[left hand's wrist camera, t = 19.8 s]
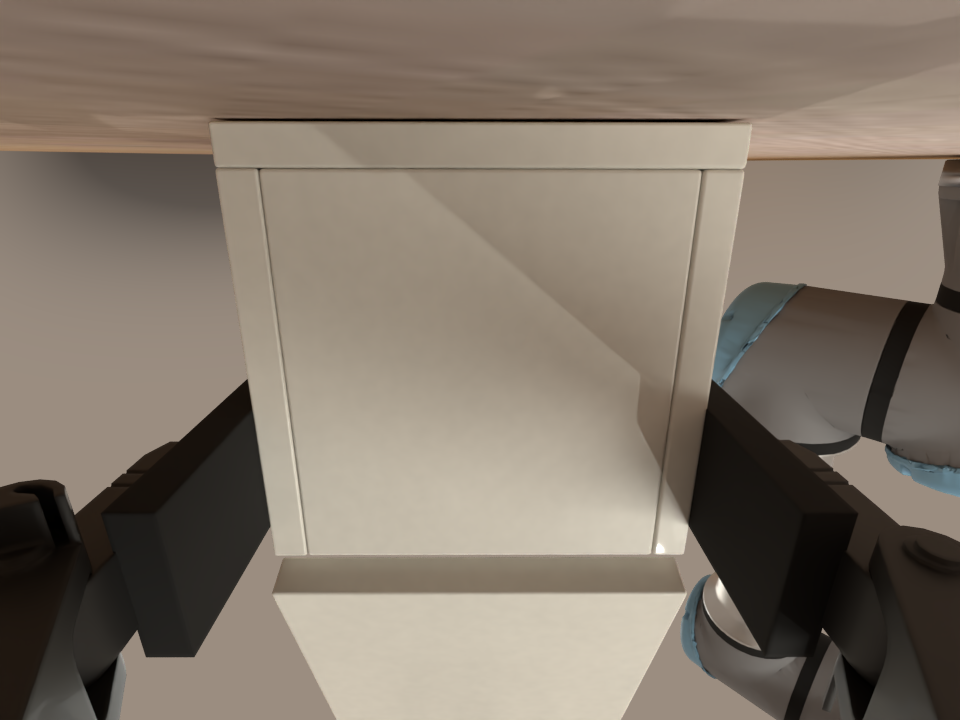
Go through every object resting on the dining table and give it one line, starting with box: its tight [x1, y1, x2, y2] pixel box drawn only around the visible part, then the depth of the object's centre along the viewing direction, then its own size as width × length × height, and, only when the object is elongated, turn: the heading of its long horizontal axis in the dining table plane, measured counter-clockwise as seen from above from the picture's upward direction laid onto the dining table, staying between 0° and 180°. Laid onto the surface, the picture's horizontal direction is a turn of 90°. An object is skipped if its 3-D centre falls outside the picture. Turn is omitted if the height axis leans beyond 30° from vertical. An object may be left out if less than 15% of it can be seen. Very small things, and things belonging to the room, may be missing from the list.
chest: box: [209, 121, 752, 555], centre depth 18 cm, size 17×9×9 cm, turn 0°
